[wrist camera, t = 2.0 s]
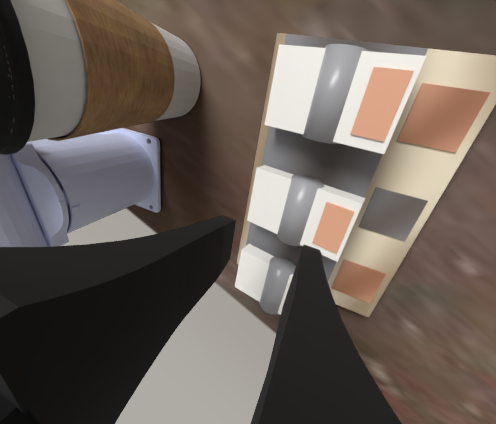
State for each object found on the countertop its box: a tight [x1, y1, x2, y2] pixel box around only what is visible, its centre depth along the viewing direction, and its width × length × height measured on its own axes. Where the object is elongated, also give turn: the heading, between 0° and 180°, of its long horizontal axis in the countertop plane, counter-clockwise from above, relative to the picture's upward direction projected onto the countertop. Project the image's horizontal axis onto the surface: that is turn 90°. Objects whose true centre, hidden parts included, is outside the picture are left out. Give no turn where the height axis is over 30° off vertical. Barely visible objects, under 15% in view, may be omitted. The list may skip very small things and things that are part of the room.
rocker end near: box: [264, 44, 426, 154], centre depth 11 cm, size 6×4×2 cm, turn 79°
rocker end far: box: [235, 244, 296, 315], centre depth 16 cm, size 6×4×2 cm, turn 79°
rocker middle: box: [247, 165, 365, 262], centre depth 14 cm, size 6×4×2 cm, turn 79°
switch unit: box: [237, 33, 496, 318], centre depth 16 cm, size 12×18×4 cm, turn 170°
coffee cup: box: [0, 0, 201, 155], centre depth 13 cm, size 8×8×15 cm
